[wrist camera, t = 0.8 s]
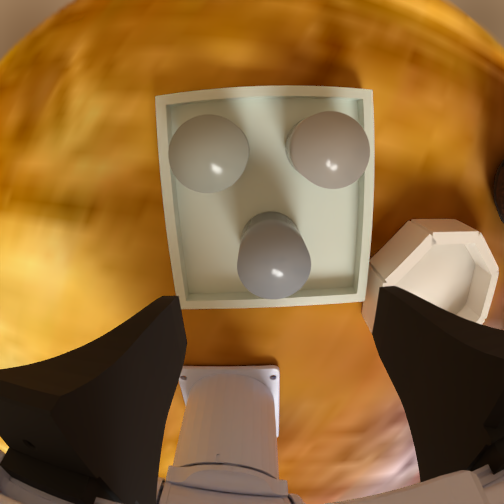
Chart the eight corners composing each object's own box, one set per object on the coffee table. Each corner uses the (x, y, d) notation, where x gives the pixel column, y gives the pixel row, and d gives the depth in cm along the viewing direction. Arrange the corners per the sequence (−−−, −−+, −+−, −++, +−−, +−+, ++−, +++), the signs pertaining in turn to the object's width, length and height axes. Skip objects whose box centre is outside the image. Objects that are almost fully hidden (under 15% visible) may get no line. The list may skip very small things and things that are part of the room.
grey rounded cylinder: (299, 267, 19) (309, 297, 16) (242, 269, 20) (239, 300, 16) (300, 210, 18) (311, 229, 14) (238, 212, 18) (234, 232, 15)
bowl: (458, 331, 22) (475, 350, 19) (356, 346, 22) (367, 371, 20) (483, 219, 19) (507, 231, 16) (370, 219, 19) (388, 233, 16)
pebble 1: (250, 180, 18) (249, 191, 14) (189, 183, 18) (171, 195, 14) (248, 118, 16) (246, 111, 13) (184, 123, 16) (165, 118, 13)
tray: (357, 290, 21) (364, 301, 19) (183, 297, 21) (178, 309, 20) (363, 93, 16) (372, 89, 15) (163, 99, 16) (155, 96, 15)
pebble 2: (346, 178, 18) (369, 189, 14) (286, 178, 18) (294, 189, 14) (345, 118, 16) (369, 113, 13) (283, 116, 16) (291, 110, 13)
